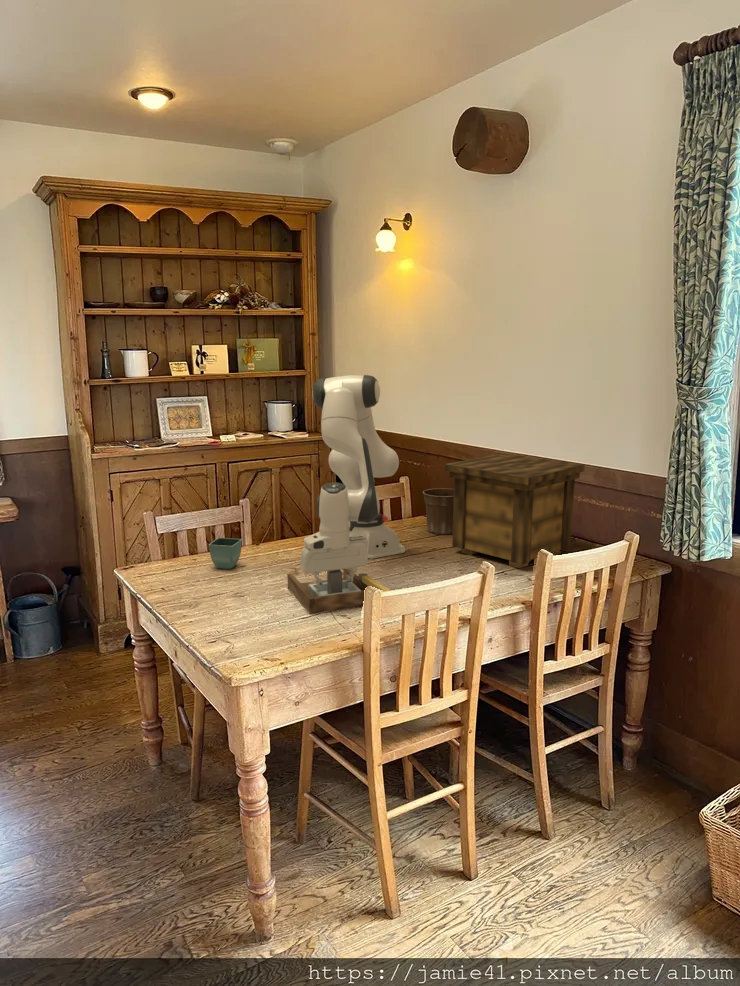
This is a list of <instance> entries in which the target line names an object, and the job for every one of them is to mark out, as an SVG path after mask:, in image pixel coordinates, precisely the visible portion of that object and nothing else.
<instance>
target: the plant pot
mask: <svg viewBox="0 0 740 986" xmlns="http://www.w3.org/2000/svg"><path fill="white" fill-rule="evenodd" d="M422 494H423V499H424V503H425V513H426V527H427V531H428V533H430V534H433V533H434V534H435V535H443V536H444V535H453V505H454V488H445V487H443V488H442V487H439V488H429V489H425V490H422Z"/></svg>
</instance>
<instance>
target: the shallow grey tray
mask: <svg viewBox="0 0 740 986" xmlns="http://www.w3.org/2000/svg"><path fill="white" fill-rule="evenodd" d="M326 572H327V573H326V574H327V575H326V576H327V577H326V580H327V582H325V583H323V586H317V584H309V593H310V594H311V595H312V596H313V597H319V596H327V595H334V594H342V593H350V592H358V591H361V590H360V589H359V588H358V587H357V586H356V585H355V584H354V583H352V582H347V580H342V578H343V571H341V569H340V570H332V571H326Z"/></svg>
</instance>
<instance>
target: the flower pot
mask: <svg viewBox="0 0 740 986" xmlns="http://www.w3.org/2000/svg"><path fill="white" fill-rule="evenodd" d="M242 542H243V539H242V538H229V537H217V538H216V539H214V540H213V541H212V542H210V543H209V544H208V549H209V553H210V559H211V561H212V563H213V565H214V566H215V568H217V569H225V570H232V569H233V568H234V567H235V566H236V565H237V564H238V562H239V559H240V557H241V554H242Z"/></svg>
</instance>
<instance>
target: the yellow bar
mask: <svg viewBox="0 0 740 986" xmlns="http://www.w3.org/2000/svg"><path fill="white" fill-rule="evenodd" d="M357 576H358V581H360V582H363V583H364V584H366V585H367V586H372V587H375V588H377V589H380V590H383V591H392V590H391V589H390V588H388V587H386V586H385V585H383V584H382V583H380V582H379V581H377V580H375V579H374V578H372V577H370V576H369V574H368V573H366V572H365V573H363V572H362V573H358V575H357Z"/></svg>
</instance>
